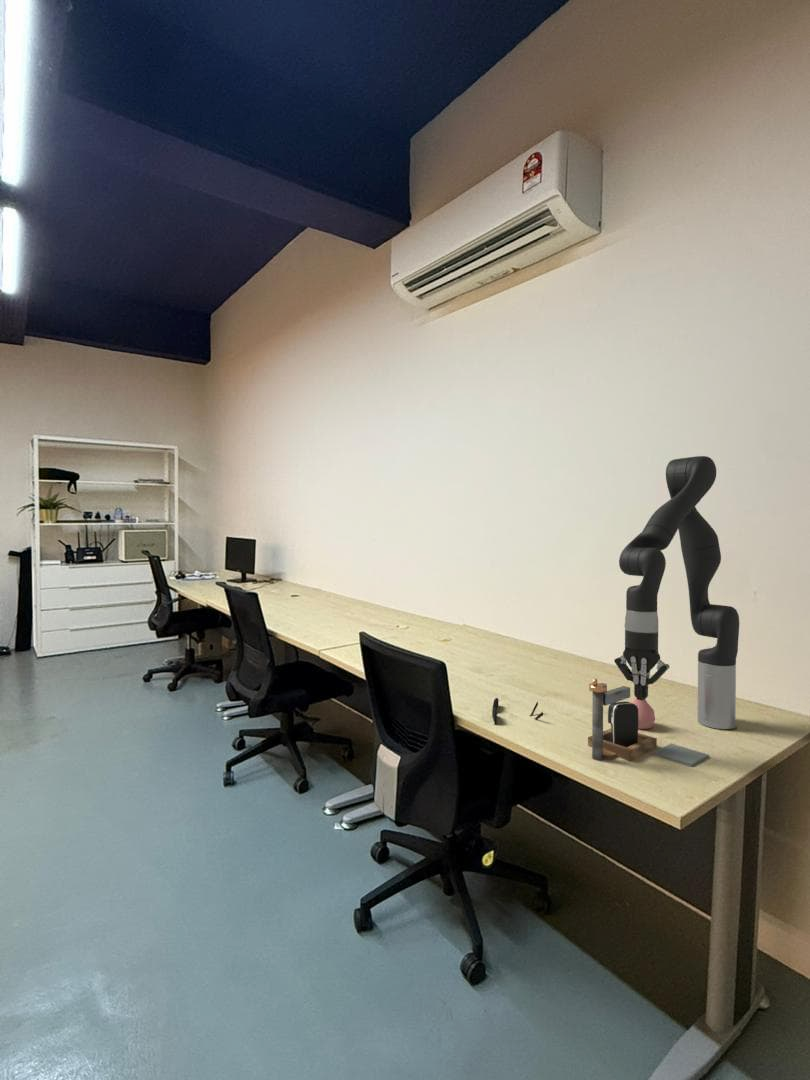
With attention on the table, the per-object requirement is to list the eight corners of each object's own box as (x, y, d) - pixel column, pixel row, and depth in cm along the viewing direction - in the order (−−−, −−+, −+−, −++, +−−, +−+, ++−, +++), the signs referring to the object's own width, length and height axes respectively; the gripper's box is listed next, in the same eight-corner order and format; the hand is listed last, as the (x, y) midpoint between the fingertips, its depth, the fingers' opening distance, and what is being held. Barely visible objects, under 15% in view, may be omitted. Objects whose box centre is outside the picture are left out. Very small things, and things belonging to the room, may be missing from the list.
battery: (629, 743, 141) (629, 699, 141) (639, 749, 137) (639, 703, 137) (605, 746, 139) (605, 701, 139) (615, 752, 135) (615, 705, 135)
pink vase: (652, 726, 154) (653, 683, 154) (657, 735, 147) (657, 690, 147) (623, 723, 156) (623, 681, 156) (626, 732, 149) (626, 688, 149)
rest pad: (671, 745, 139) (671, 743, 139) (708, 757, 132) (708, 754, 132) (653, 754, 134) (653, 752, 134) (691, 766, 127) (691, 764, 127)
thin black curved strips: (544, 733, 148) (544, 715, 148) (489, 730, 151) (490, 711, 151) (541, 714, 165) (541, 697, 165) (492, 711, 168) (492, 694, 168)
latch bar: (619, 694, 141) (619, 669, 141) (634, 698, 138) (634, 672, 138) (585, 705, 131) (585, 678, 131) (600, 709, 128) (600, 681, 128)
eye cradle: (616, 735, 146) (616, 675, 146) (656, 748, 138) (657, 684, 138) (574, 752, 135) (574, 687, 135) (616, 767, 126) (616, 697, 126)
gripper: (674, 630, 133) (674, 701, 134) (619, 624, 142) (619, 691, 142) (665, 634, 128) (665, 708, 128) (608, 627, 137) (608, 697, 137)
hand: (640, 699), depth 135 cm, fingers closed
